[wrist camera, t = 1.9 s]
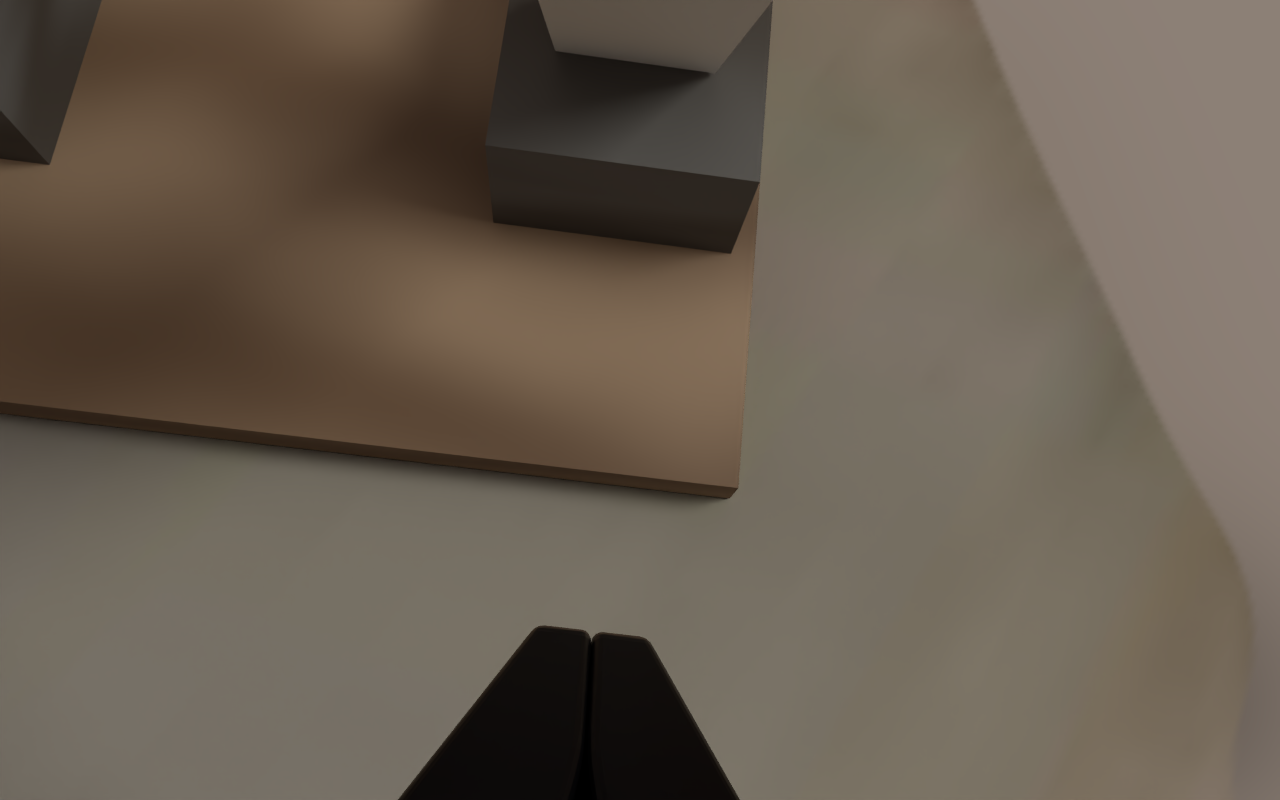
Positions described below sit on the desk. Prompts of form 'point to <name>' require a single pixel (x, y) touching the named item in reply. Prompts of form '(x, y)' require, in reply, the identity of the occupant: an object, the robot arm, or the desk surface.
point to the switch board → (379, 234)
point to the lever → (652, 29)
